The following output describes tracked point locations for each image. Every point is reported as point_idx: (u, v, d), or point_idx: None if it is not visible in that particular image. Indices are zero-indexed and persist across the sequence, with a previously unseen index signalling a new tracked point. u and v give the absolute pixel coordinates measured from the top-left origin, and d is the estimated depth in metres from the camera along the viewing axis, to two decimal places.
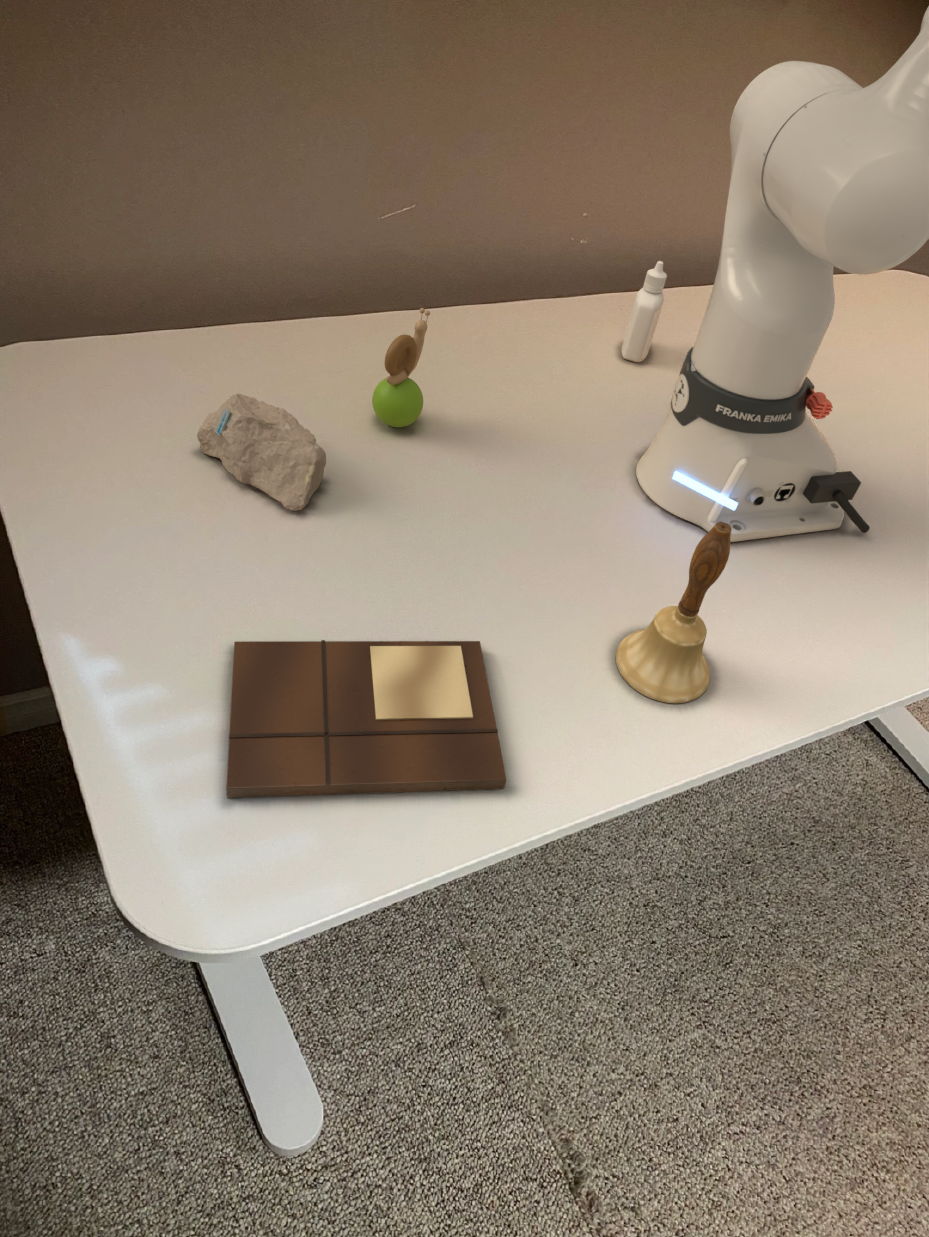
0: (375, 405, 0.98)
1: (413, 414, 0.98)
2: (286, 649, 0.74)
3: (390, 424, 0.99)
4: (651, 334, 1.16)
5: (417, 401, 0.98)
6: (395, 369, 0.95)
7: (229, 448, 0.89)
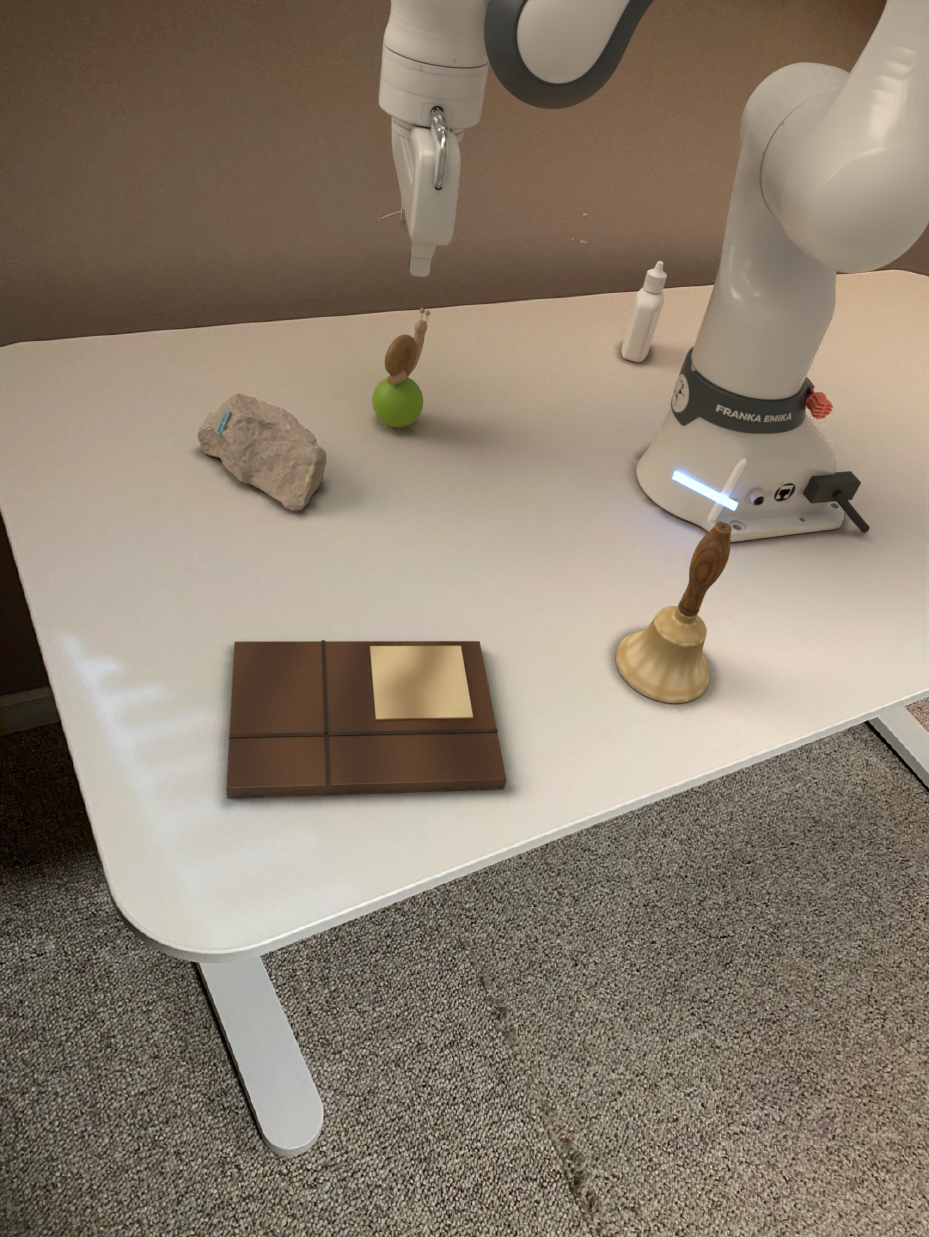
0: (375, 405, 0.98)
1: (413, 414, 0.98)
2: (286, 649, 0.74)
3: (390, 424, 0.99)
4: (651, 334, 1.16)
5: (417, 401, 0.98)
6: (395, 369, 0.95)
7: (229, 448, 0.89)
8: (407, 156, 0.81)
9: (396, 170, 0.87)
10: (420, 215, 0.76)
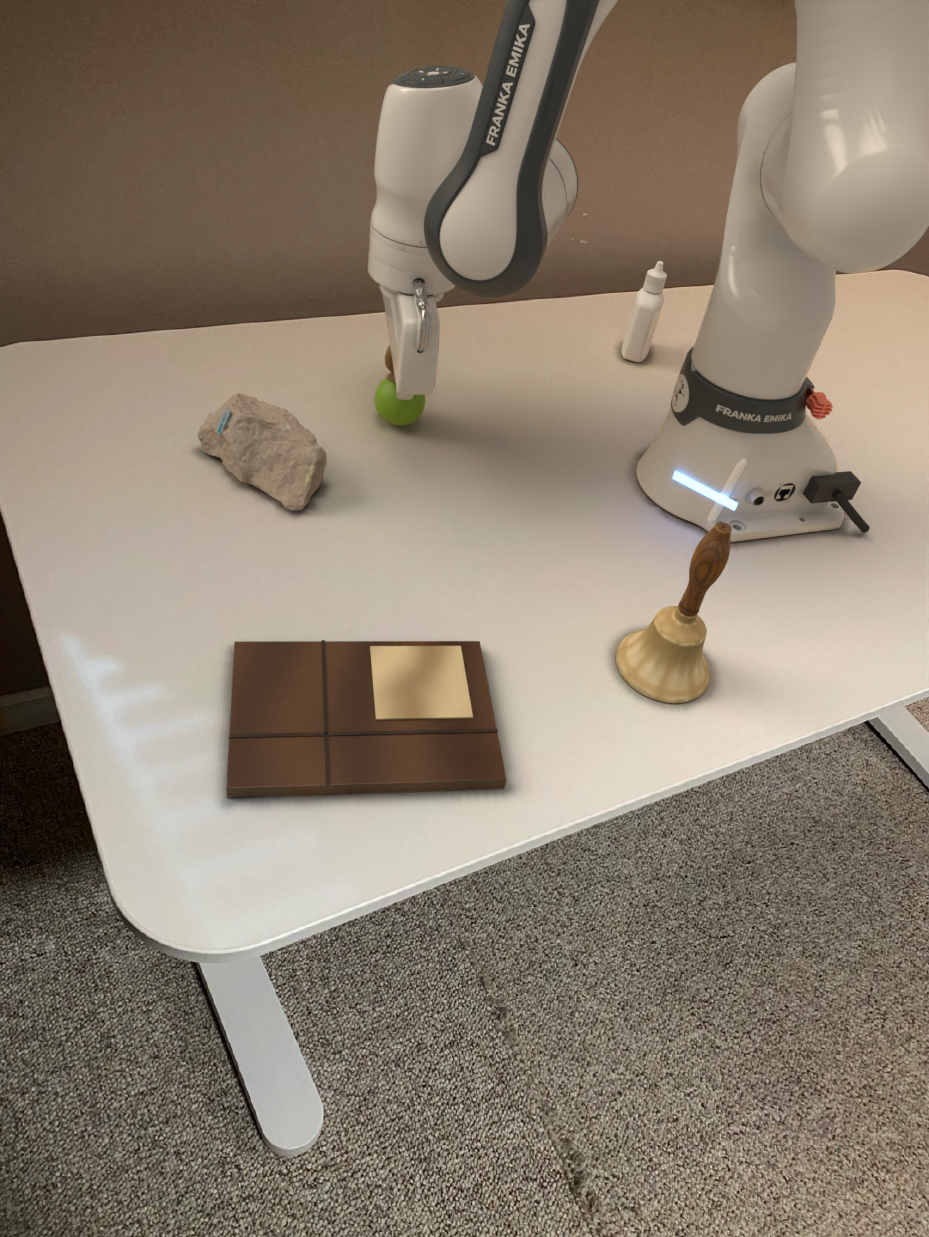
0: (376, 401, 0.98)
1: (412, 414, 0.98)
2: (286, 649, 0.74)
3: (389, 421, 0.99)
4: (651, 334, 1.16)
5: (416, 401, 0.98)
6: None
7: (230, 448, 0.89)
8: (394, 312, 0.91)
9: None
10: (405, 373, 0.86)
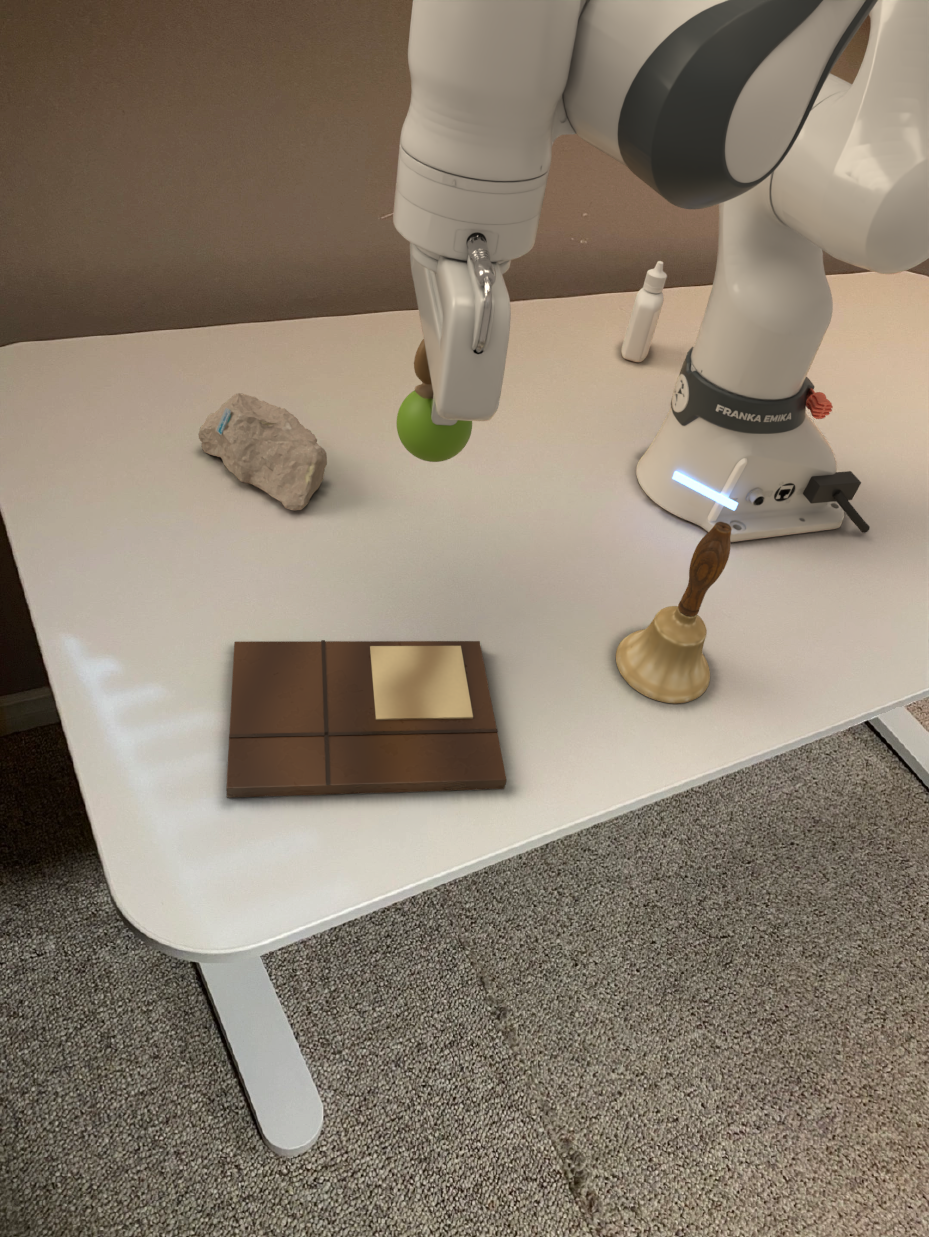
0: (398, 426, 0.66)
1: (453, 445, 0.65)
2: (286, 649, 0.74)
3: (418, 456, 0.66)
4: (651, 334, 1.16)
5: (460, 427, 0.65)
6: (429, 375, 0.62)
7: (230, 448, 0.89)
8: (432, 290, 0.59)
9: (416, 296, 0.65)
10: (452, 386, 0.53)
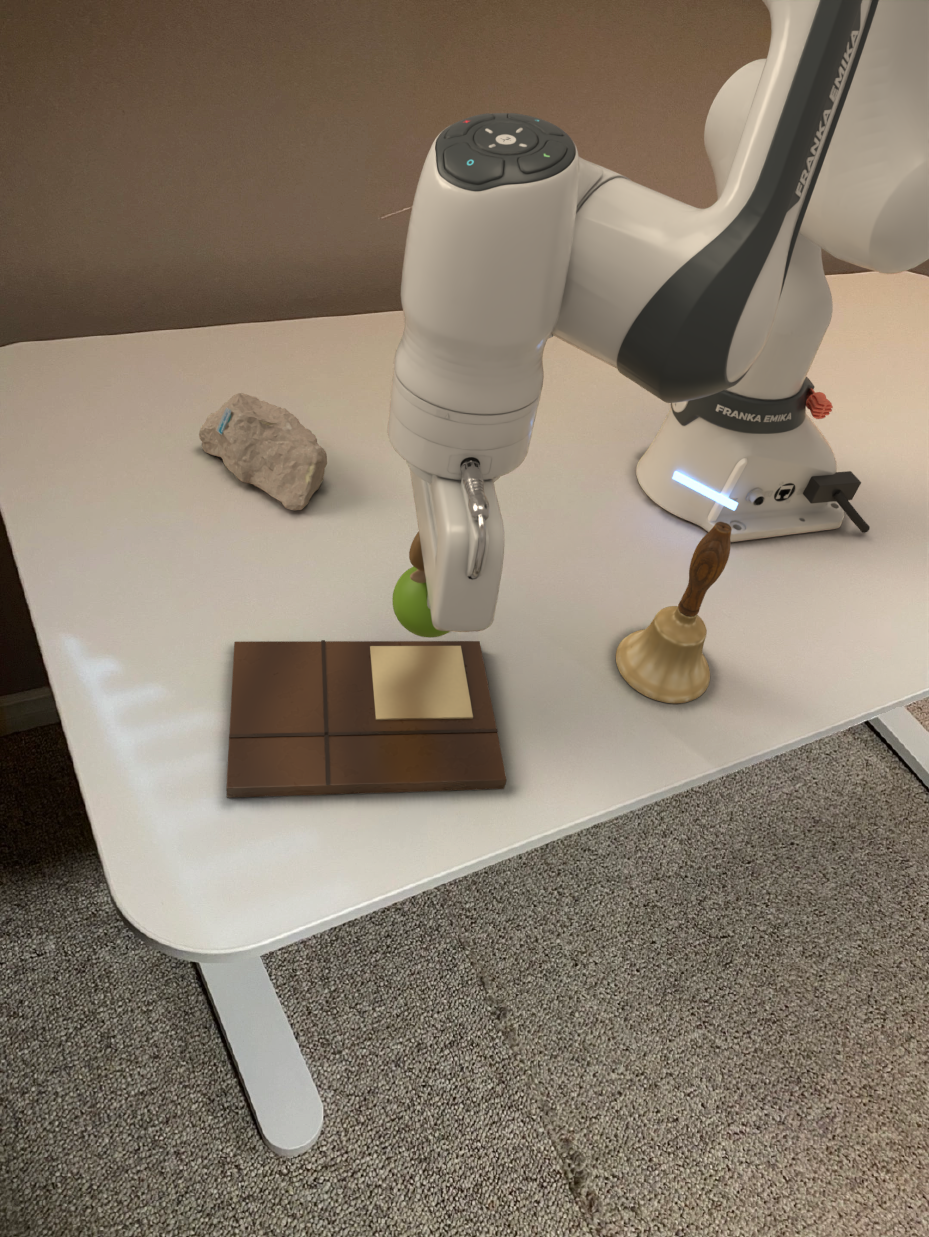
0: (394, 605, 0.66)
1: None
2: (286, 649, 0.74)
3: (414, 633, 0.67)
4: None
5: None
6: None
7: (230, 447, 0.89)
8: (427, 492, 0.59)
9: (411, 479, 0.65)
10: (447, 607, 0.54)
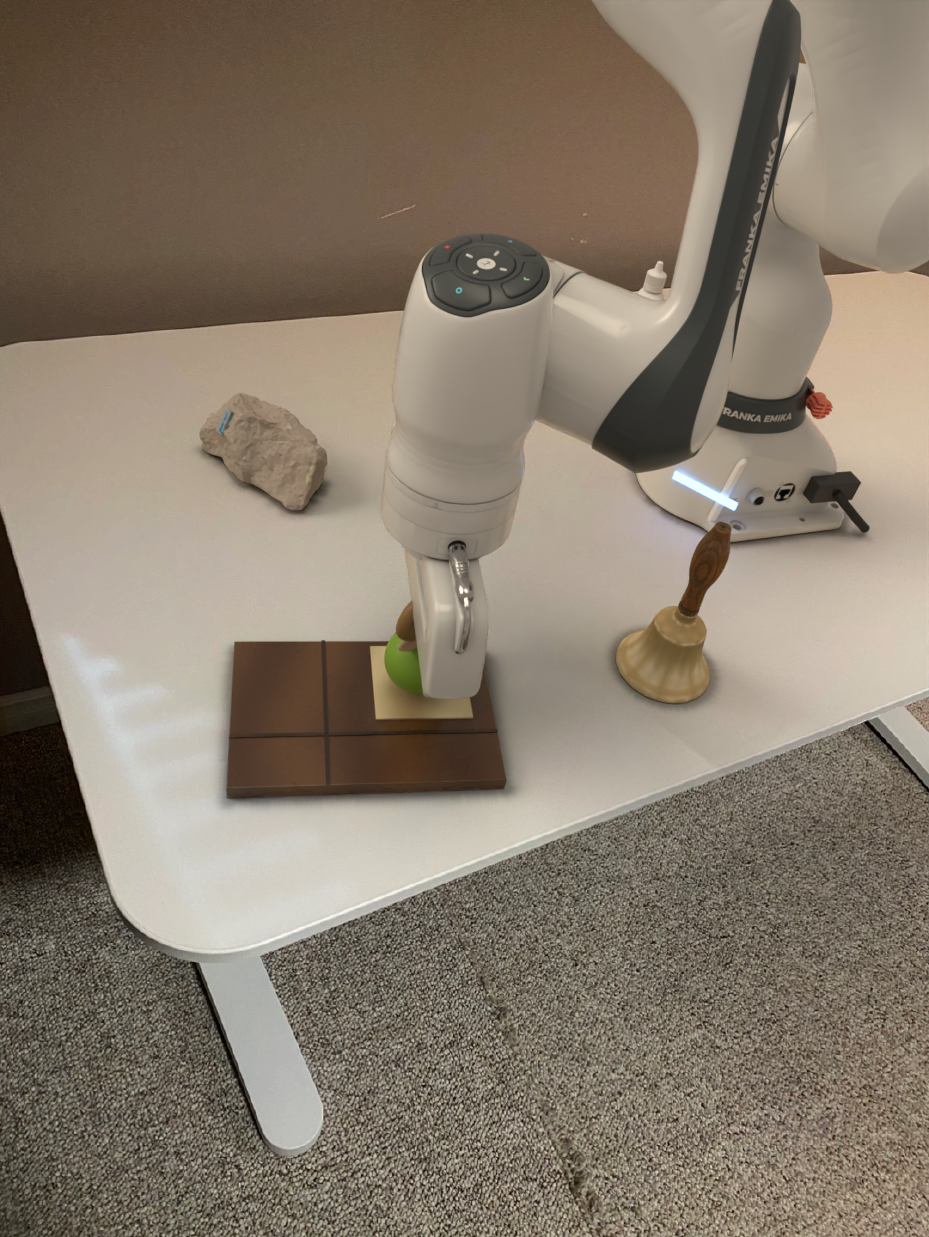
0: (386, 667, 0.70)
1: None
2: (286, 649, 0.74)
3: None
4: None
5: None
6: (411, 637, 0.66)
7: (231, 447, 0.89)
8: (418, 565, 0.64)
9: None
10: (436, 678, 0.58)
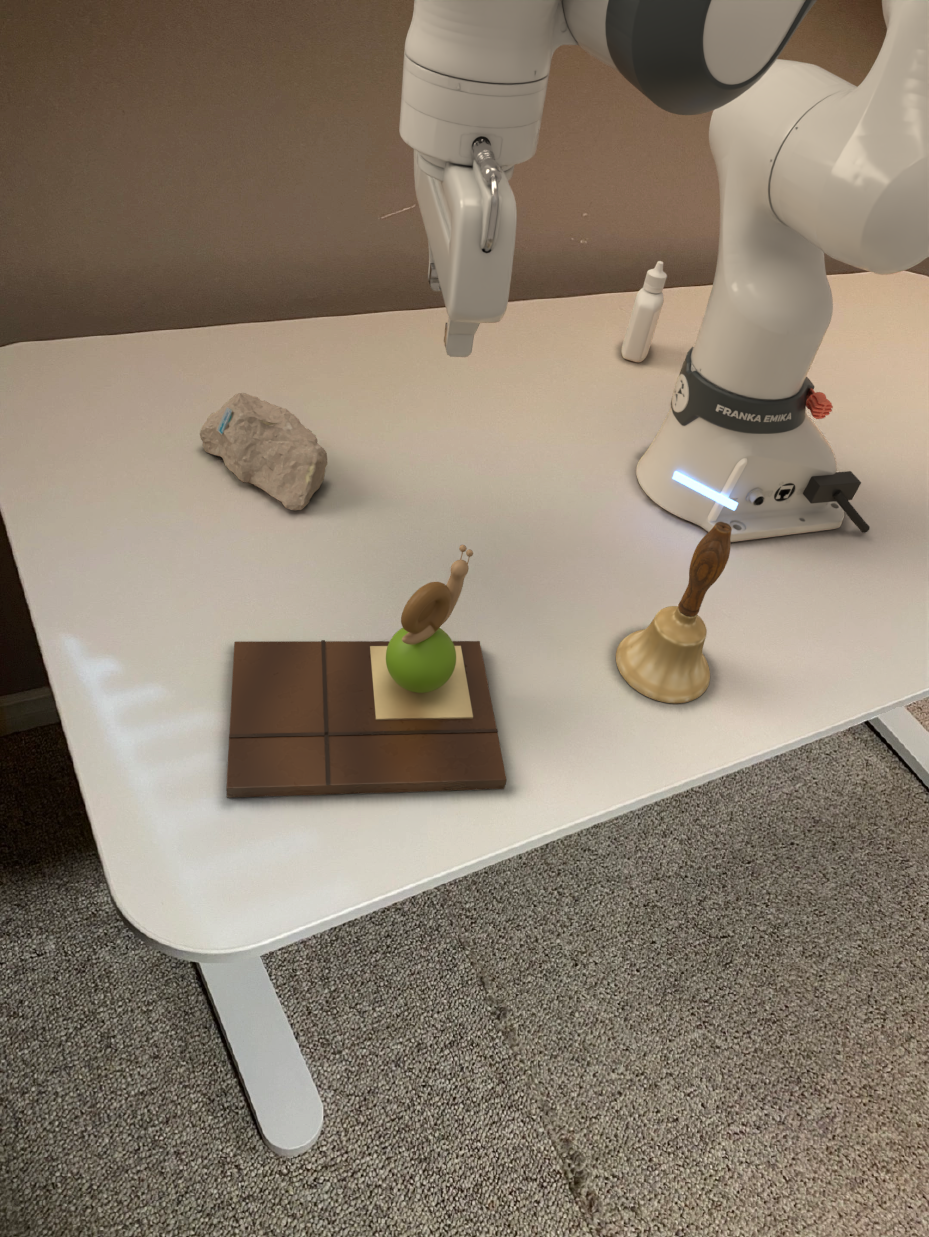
0: (388, 664, 0.71)
1: (439, 682, 0.70)
2: (286, 649, 0.74)
3: (406, 689, 0.71)
4: (651, 334, 1.16)
5: (444, 666, 0.70)
6: (415, 628, 0.67)
7: (231, 447, 0.89)
8: (439, 201, 0.61)
9: (422, 215, 0.67)
10: (462, 287, 0.56)
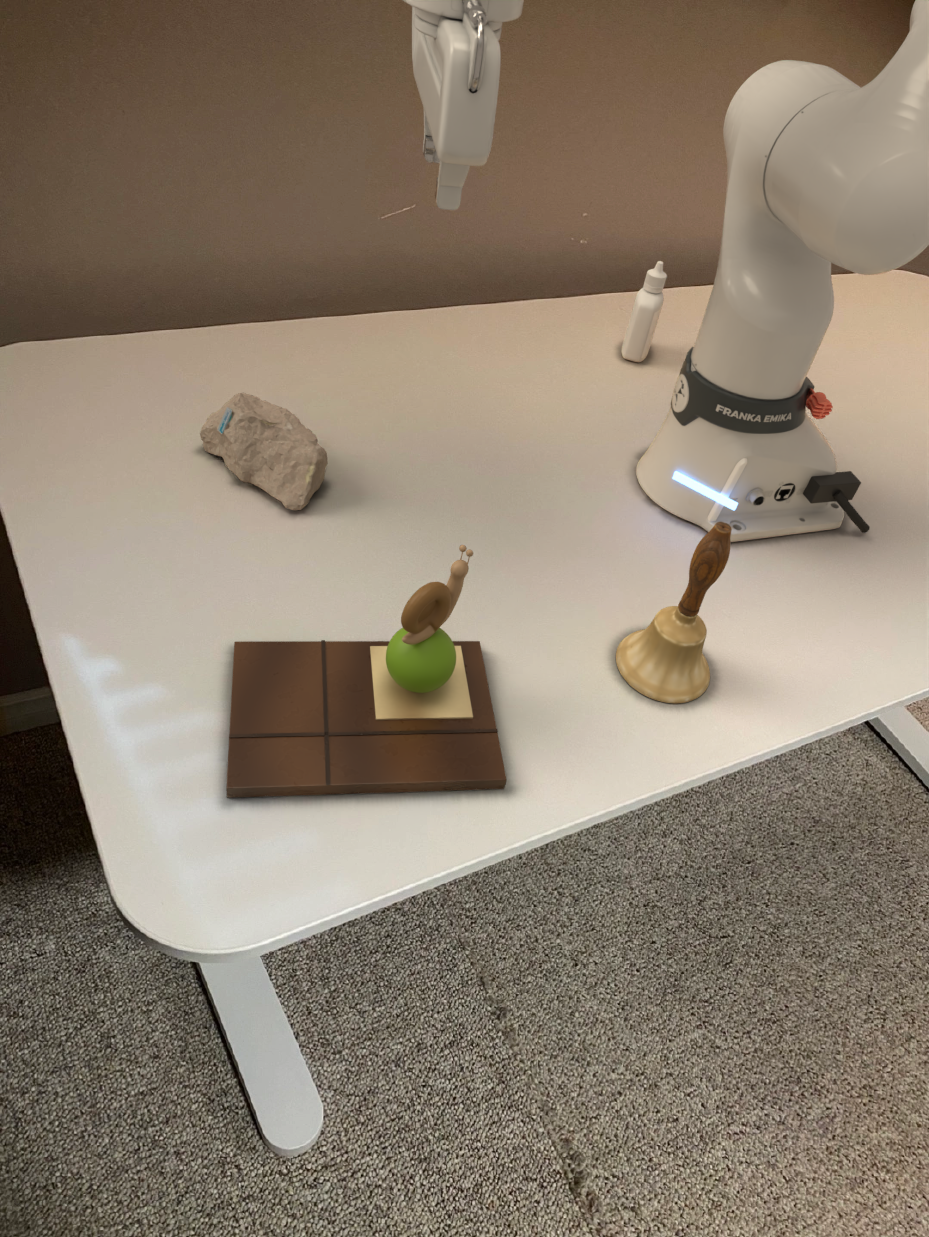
0: (388, 664, 0.71)
1: (439, 682, 0.70)
2: (286, 649, 0.74)
3: (406, 689, 0.71)
4: (651, 334, 1.16)
5: (444, 666, 0.70)
6: (415, 628, 0.67)
7: (231, 447, 0.89)
8: (433, 62, 0.67)
9: (418, 87, 0.73)
10: (451, 126, 0.62)
